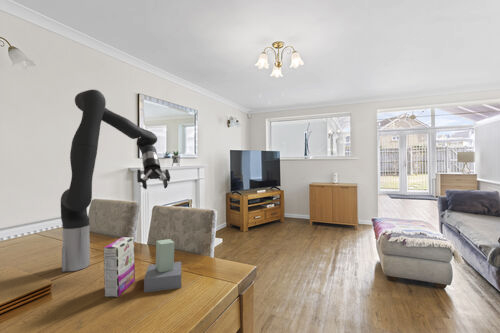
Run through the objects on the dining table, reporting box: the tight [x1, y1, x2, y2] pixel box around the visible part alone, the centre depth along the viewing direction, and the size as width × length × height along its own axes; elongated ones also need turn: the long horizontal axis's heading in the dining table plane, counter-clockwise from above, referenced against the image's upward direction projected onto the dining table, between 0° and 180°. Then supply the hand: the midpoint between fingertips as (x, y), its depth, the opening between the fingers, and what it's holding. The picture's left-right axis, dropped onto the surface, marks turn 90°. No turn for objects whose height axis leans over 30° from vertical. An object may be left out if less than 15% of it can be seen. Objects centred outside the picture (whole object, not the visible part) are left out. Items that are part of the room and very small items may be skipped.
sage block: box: [155, 238, 176, 273], centre depth 90 cm, size 5×5×10 cm
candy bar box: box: [103, 236, 136, 298], centre depth 84 cm, size 11×5×16 cm, turn 179°
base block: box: [143, 261, 182, 294], centre depth 89 cm, size 12×12×5 cm
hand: (156, 187), depth 110 cm, fingers open, 8 cm apart
